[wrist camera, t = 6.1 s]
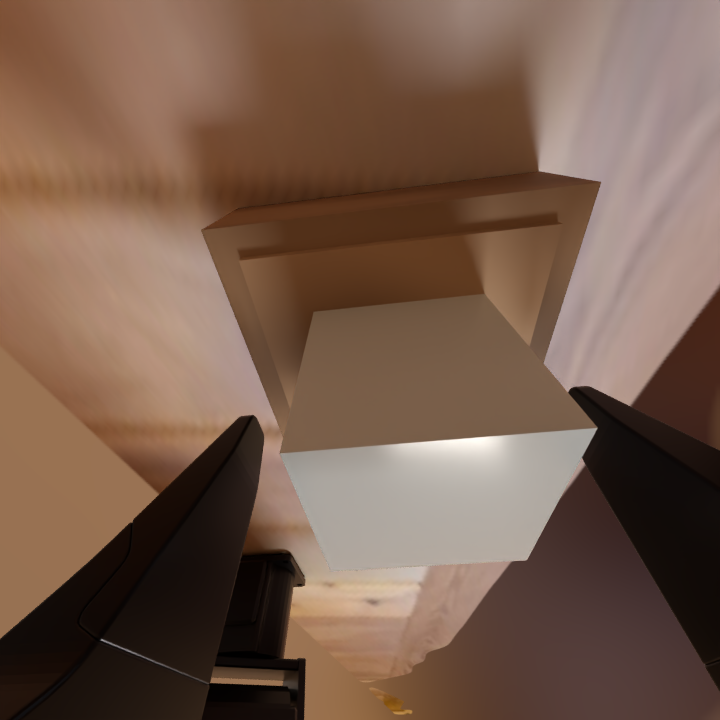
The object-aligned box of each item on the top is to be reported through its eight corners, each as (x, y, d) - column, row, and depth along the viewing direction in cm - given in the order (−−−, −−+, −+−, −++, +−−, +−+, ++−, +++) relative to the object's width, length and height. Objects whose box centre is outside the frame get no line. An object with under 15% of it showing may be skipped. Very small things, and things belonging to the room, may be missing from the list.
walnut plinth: (492, 397, 16) (519, 449, 13) (302, 413, 16) (292, 466, 13) (539, 171, 10) (608, 183, 7) (237, 208, 10) (197, 232, 8)
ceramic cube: (466, 413, 12) (526, 559, 8) (339, 424, 12) (330, 571, 8) (484, 293, 9) (598, 428, 5) (313, 311, 9) (279, 453, 5)
